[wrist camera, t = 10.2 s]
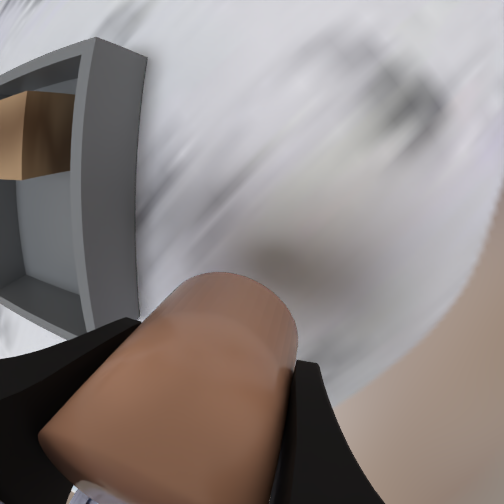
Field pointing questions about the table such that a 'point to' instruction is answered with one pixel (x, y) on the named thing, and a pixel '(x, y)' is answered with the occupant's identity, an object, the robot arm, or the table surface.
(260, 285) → the terracotta cylinder
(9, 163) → the walnut cube
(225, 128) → the table surface
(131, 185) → the tote
